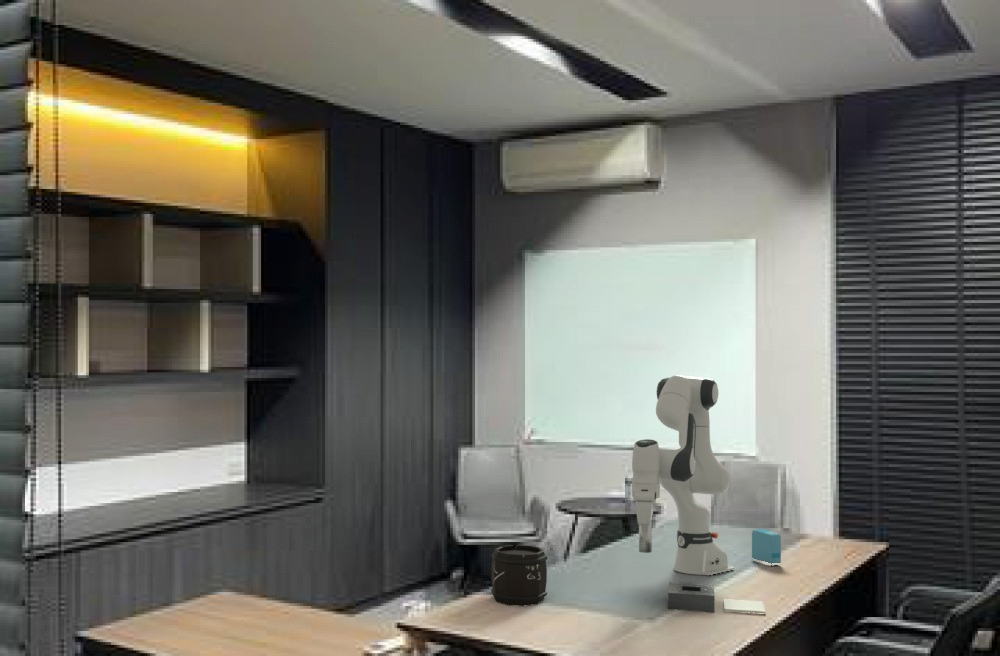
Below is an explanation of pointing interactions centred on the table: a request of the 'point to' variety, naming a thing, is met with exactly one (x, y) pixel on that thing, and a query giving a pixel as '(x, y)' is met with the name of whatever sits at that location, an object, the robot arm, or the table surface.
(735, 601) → the pad
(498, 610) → the table surface
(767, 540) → the data package
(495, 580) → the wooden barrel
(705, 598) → the block
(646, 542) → the key peg
